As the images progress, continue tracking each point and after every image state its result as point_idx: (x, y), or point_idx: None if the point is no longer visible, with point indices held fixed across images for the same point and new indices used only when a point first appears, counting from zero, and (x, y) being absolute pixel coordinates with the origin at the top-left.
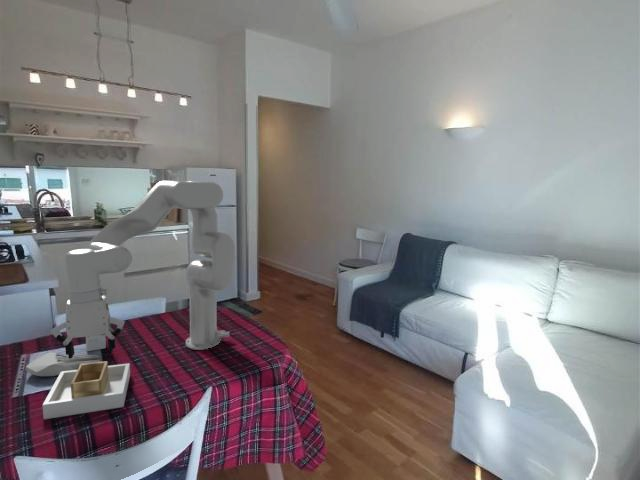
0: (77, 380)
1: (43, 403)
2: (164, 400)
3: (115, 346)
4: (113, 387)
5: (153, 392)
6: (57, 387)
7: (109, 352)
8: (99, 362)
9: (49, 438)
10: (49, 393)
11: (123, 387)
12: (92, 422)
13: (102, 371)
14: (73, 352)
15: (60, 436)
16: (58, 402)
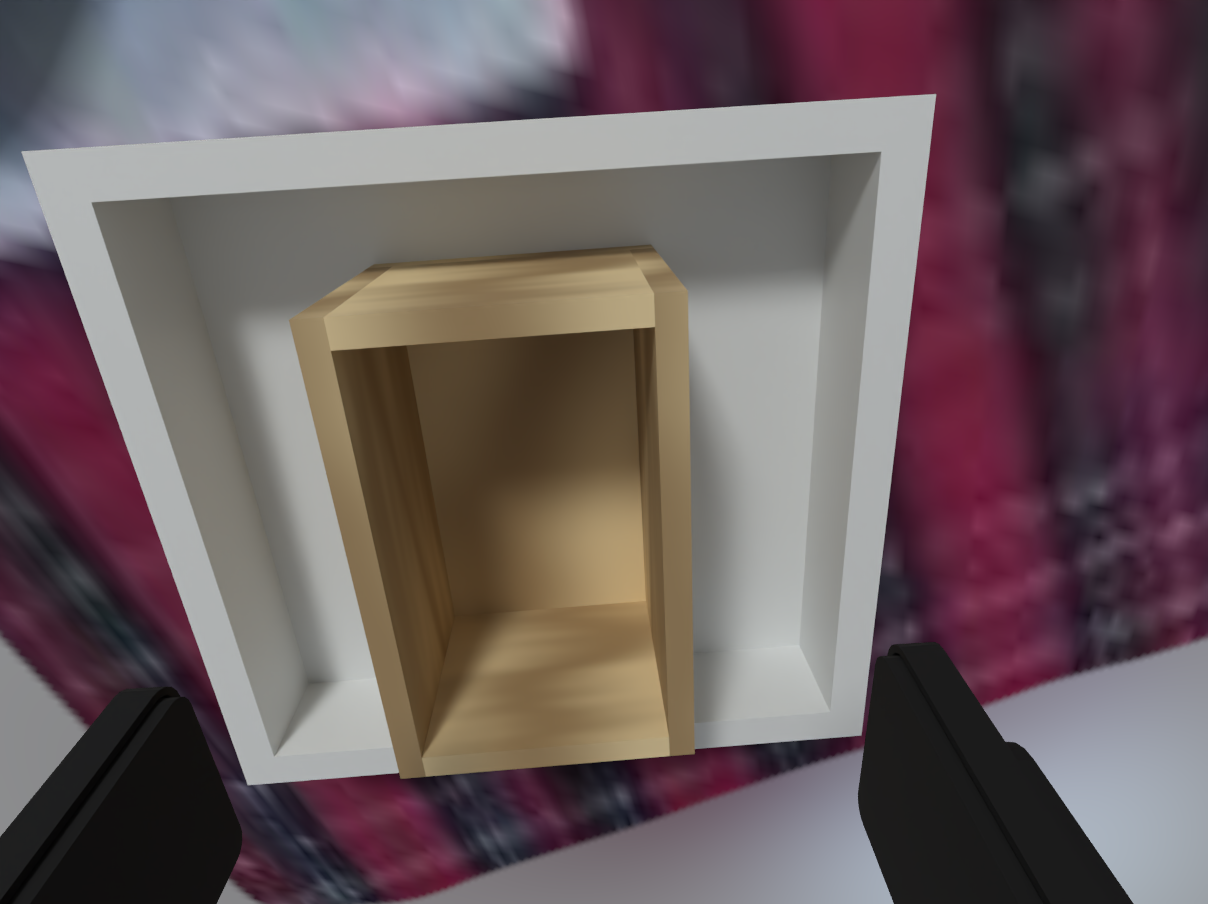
0: (407, 588)
1: (244, 769)
2: (1106, 622)
3: (1009, 746)
4: (725, 418)
5: (1049, 502)
6: (203, 495)
7: (870, 822)
8: (575, 320)
9: (431, 847)
10: (201, 638)
11: (864, 654)
12: (637, 762)
13: (673, 583)
14: (178, 777)
15: (487, 842)
16: (364, 772)
